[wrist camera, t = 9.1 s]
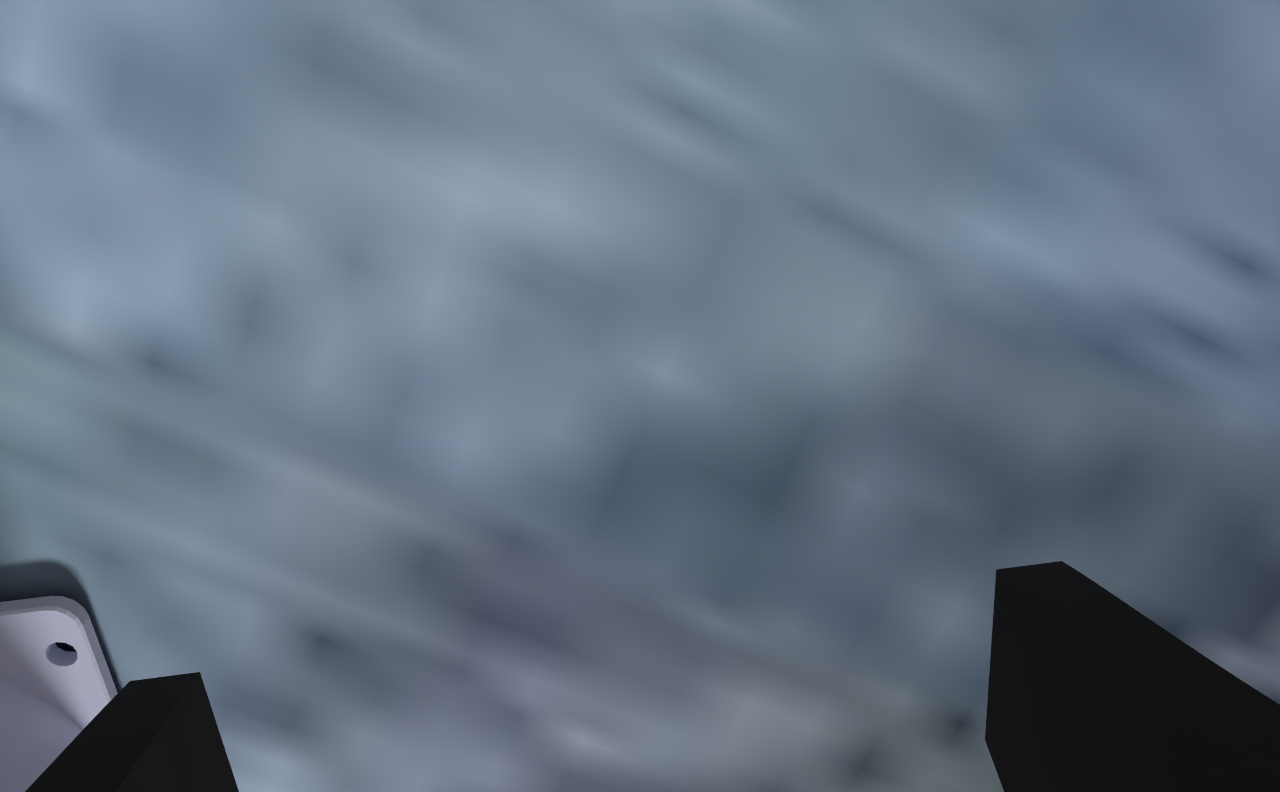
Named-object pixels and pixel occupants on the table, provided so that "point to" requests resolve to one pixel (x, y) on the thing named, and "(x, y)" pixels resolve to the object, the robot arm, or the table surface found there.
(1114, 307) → the table surface
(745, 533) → the table surface
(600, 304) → the table surface
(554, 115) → the table surface
